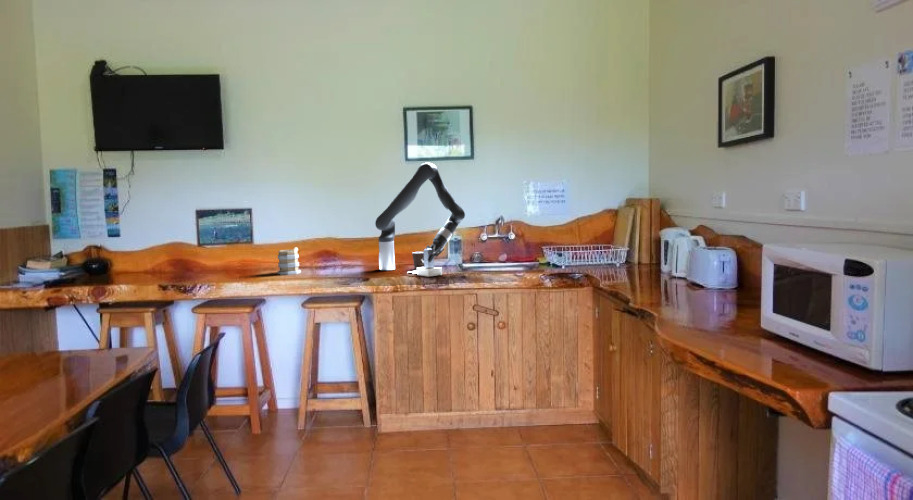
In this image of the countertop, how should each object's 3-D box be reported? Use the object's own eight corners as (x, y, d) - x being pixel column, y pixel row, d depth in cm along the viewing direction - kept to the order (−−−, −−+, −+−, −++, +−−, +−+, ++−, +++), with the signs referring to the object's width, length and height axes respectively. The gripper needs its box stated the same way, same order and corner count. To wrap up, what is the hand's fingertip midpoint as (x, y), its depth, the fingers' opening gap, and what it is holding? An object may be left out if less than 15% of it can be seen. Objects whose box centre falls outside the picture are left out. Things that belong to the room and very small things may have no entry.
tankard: (294, 274, 344) (292, 249, 343) (274, 274, 347) (272, 249, 345) (309, 270, 364) (307, 246, 362) (290, 270, 366) (289, 246, 365)
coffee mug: (415, 270, 348) (414, 253, 347) (410, 268, 356) (410, 252, 355) (433, 268, 352) (433, 252, 351) (428, 267, 360) (428, 251, 359)
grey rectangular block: (424, 270, 325) (423, 249, 324) (430, 269, 328) (429, 248, 327) (428, 271, 322) (427, 249, 321) (434, 270, 325) (433, 248, 324)
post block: (407, 273, 334) (407, 266, 333) (421, 271, 340) (420, 265, 339) (428, 276, 318) (428, 269, 318) (442, 274, 324) (441, 267, 324)
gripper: (431, 232, 333) (414, 256, 327) (446, 233, 322) (429, 257, 316) (438, 241, 337) (422, 264, 331) (454, 242, 326) (437, 266, 320)
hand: (426, 260), depth 323 cm, fingers closed on grey rectangular block, 4 cm apart
